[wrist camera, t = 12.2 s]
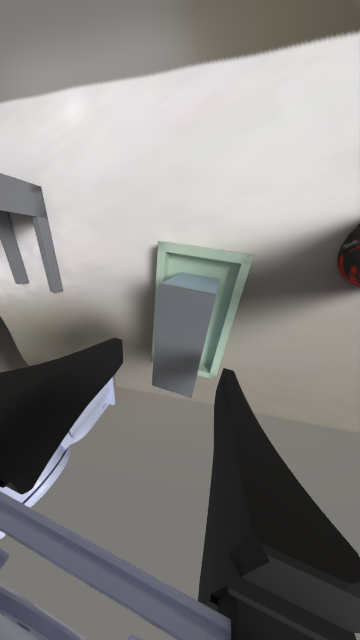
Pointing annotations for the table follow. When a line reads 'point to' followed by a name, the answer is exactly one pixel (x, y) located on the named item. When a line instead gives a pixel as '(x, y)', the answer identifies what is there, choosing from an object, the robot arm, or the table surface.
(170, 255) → the tray
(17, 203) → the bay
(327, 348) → the table surface
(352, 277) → the deodorant
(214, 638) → the robot arm
